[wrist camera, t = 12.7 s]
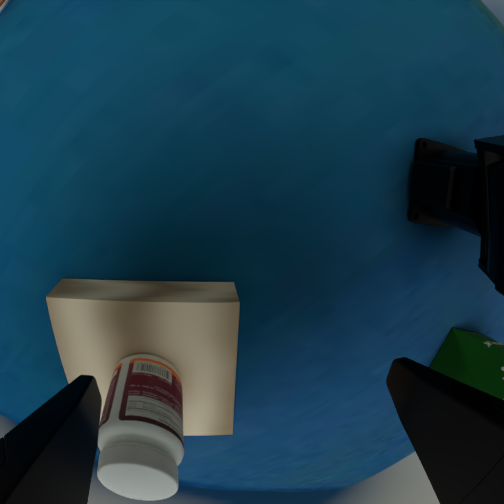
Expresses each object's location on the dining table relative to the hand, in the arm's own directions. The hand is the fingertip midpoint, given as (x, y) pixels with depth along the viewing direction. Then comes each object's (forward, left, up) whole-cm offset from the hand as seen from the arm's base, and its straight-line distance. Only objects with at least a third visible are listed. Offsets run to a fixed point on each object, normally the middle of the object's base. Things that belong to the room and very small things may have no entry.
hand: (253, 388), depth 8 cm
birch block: (+5, +8, -13) cm, 16 cm away
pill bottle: (+5, +8, -10) cm, 14 cm away
